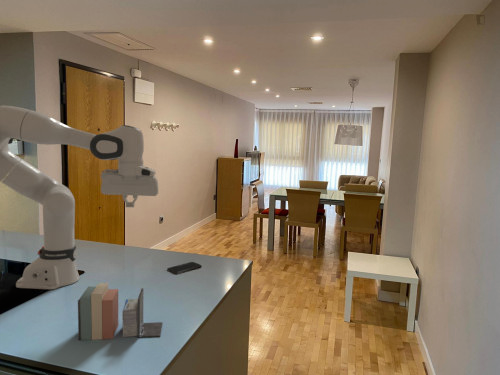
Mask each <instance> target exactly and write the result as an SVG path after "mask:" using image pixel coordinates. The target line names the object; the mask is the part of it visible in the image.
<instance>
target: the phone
mask: <svg viewBox="0 0 500 375" xmlns="http://www.w3.org/2000/svg"><path fill="white" fill-rule="evenodd" d="M202 267H203V266H202V264H200V263H196V262H195V261H190V262H186V263H182V264H178V265H175V266H170V267H167V268H166V269H167V271H168V272H170V273H172V274H174V275H179V274H183V273H187V272H190V271H194V270H197V269H201V268H202Z"/></svg>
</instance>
